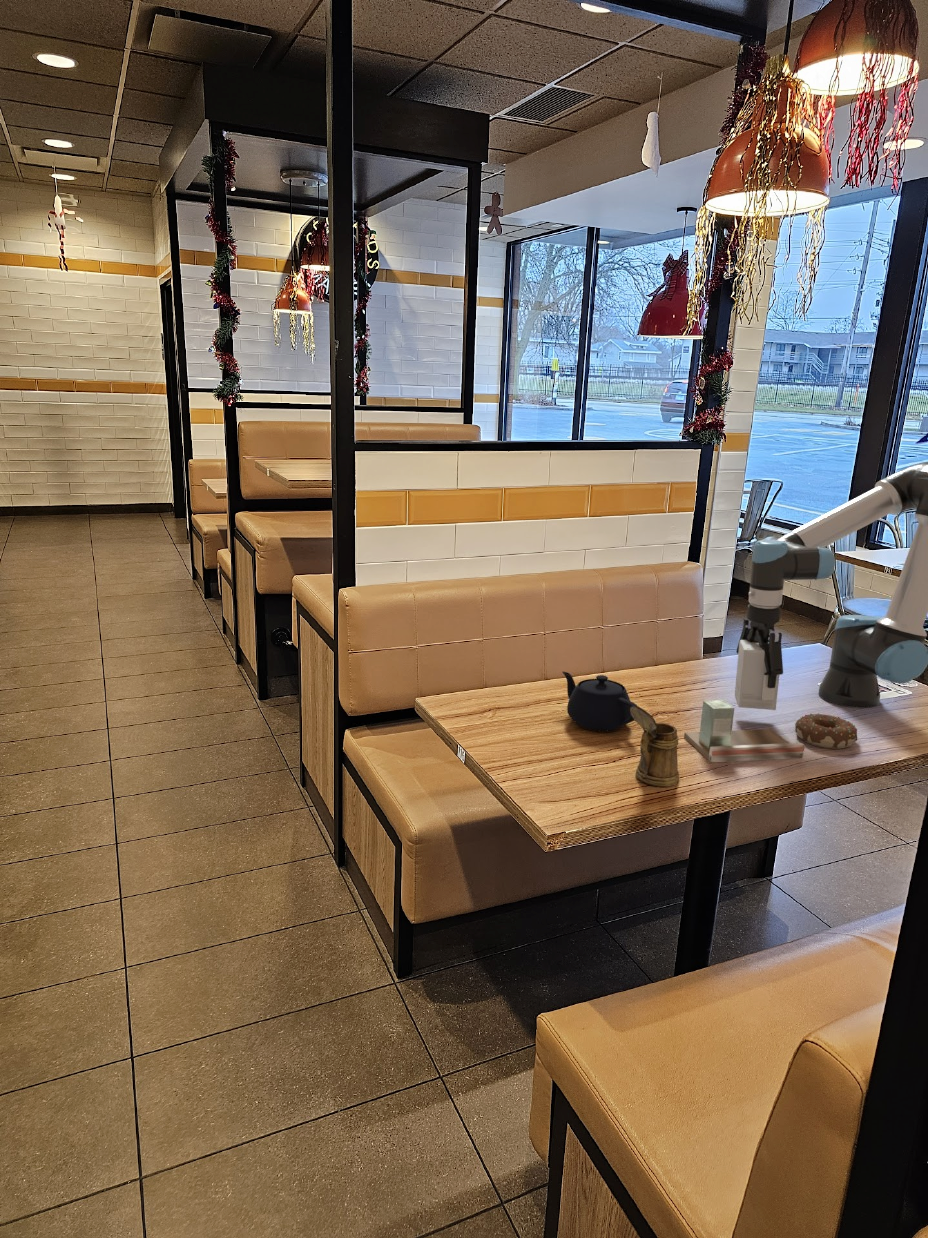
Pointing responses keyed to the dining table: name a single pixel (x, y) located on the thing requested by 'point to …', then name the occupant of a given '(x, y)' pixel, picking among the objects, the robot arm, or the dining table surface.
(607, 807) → the dining table surface
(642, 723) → the wooden mug
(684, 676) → the dining table surface
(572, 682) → the teapot
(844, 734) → the donut
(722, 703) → the tea tin
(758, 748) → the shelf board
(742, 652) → the supplement box
